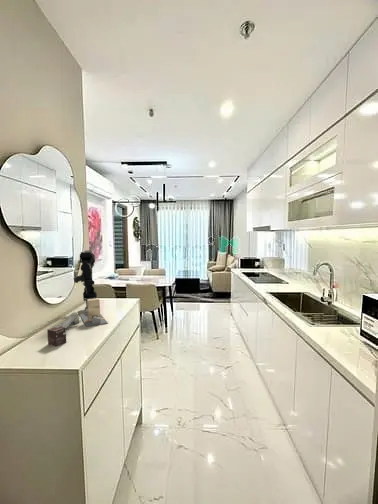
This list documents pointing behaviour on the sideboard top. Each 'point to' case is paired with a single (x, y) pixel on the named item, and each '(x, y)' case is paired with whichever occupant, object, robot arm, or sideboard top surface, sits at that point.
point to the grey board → (93, 320)
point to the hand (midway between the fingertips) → (88, 294)
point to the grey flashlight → (70, 320)
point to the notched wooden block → (93, 308)
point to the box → (56, 336)
